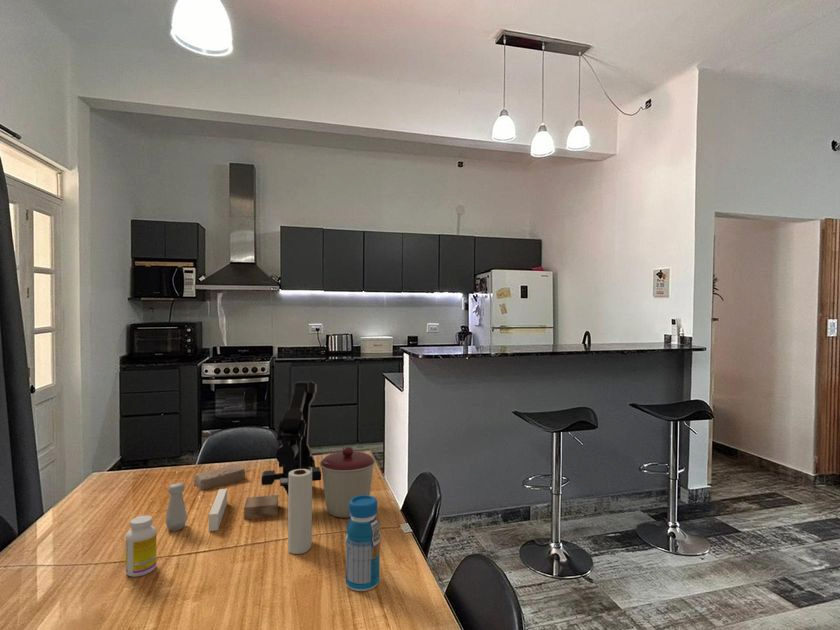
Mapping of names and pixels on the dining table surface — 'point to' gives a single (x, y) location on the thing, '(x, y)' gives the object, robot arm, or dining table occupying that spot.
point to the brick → (219, 476)
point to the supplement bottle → (140, 547)
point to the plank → (217, 510)
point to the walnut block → (261, 507)
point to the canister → (345, 479)
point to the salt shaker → (176, 508)
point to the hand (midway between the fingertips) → (291, 501)
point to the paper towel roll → (300, 511)
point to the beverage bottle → (362, 544)
